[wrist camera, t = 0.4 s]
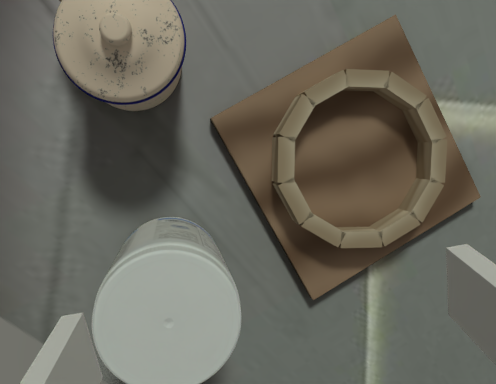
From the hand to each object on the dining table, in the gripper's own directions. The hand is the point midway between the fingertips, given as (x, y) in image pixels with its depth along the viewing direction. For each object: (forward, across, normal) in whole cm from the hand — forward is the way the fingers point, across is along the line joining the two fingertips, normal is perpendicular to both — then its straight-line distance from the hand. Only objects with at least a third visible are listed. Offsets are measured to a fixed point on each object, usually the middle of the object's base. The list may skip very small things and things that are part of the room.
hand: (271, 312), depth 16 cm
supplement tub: (+25, -8, -8) cm, 27 cm away
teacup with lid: (+28, -9, +11) cm, 31 cm away
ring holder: (+28, +11, -2) cm, 30 cm away
